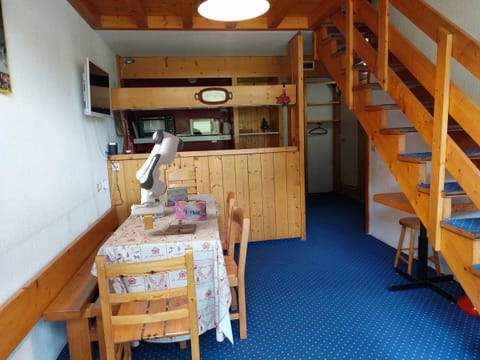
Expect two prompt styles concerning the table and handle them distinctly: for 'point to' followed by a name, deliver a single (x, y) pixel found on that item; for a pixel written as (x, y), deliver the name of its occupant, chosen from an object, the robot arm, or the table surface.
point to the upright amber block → (148, 222)
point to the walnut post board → (180, 229)
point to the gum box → (191, 209)
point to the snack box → (175, 196)
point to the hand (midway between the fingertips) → (148, 221)
